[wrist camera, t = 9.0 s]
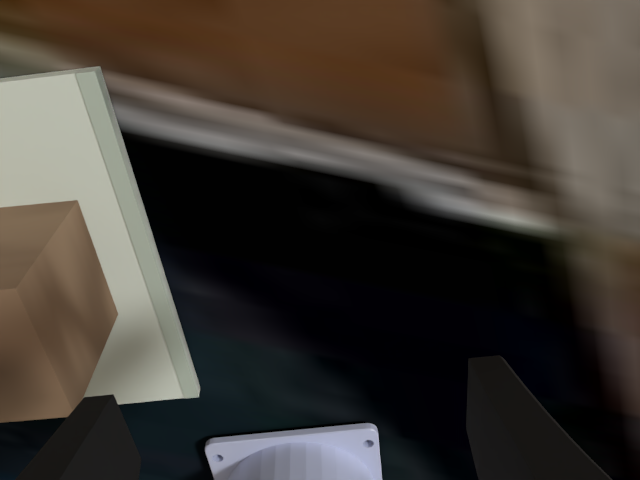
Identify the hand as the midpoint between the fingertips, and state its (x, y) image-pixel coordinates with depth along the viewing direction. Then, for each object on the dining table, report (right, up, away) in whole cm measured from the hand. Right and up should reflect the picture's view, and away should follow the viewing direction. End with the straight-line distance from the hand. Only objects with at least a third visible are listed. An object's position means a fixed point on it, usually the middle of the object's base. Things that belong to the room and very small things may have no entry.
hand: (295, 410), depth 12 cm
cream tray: (-10, +2, +10) cm, 14 cm away
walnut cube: (-10, +3, +9) cm, 14 cm away
